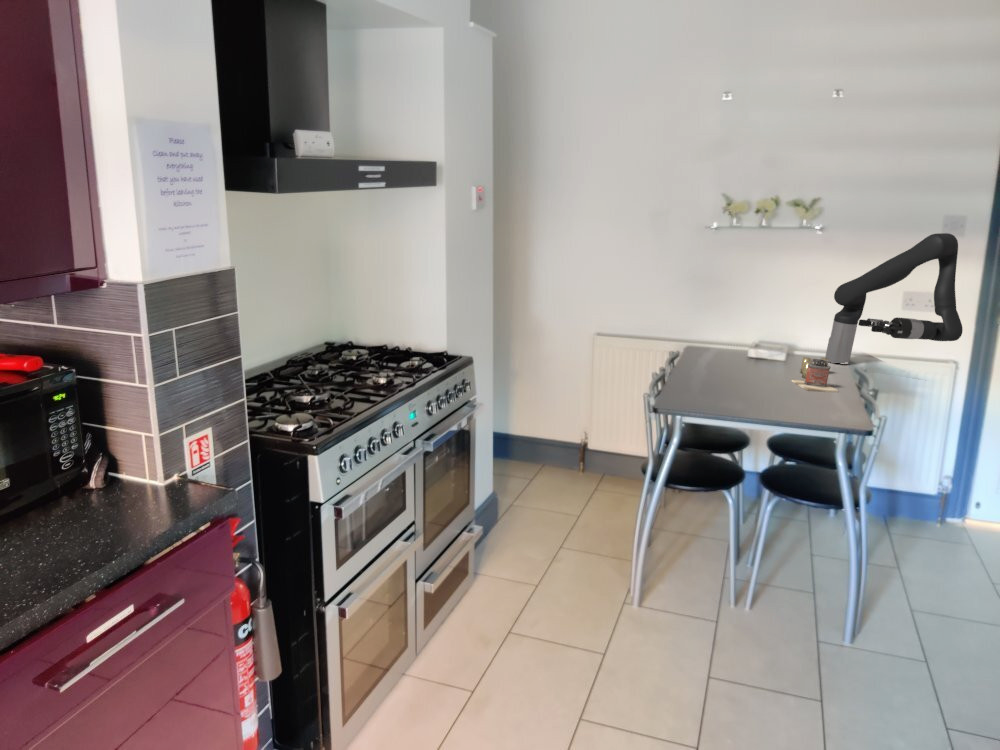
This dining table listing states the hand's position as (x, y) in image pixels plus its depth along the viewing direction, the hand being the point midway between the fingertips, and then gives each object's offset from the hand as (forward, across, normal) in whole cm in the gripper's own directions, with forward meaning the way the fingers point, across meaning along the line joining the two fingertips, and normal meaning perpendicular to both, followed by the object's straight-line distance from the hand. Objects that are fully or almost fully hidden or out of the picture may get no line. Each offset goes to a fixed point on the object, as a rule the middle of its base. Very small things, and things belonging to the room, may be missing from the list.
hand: (865, 325), depth 296 cm
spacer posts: (+7, -15, +24) cm, 30 cm away
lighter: (+15, +1, +24) cm, 28 cm away
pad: (+15, +1, +24) cm, 28 cm away
